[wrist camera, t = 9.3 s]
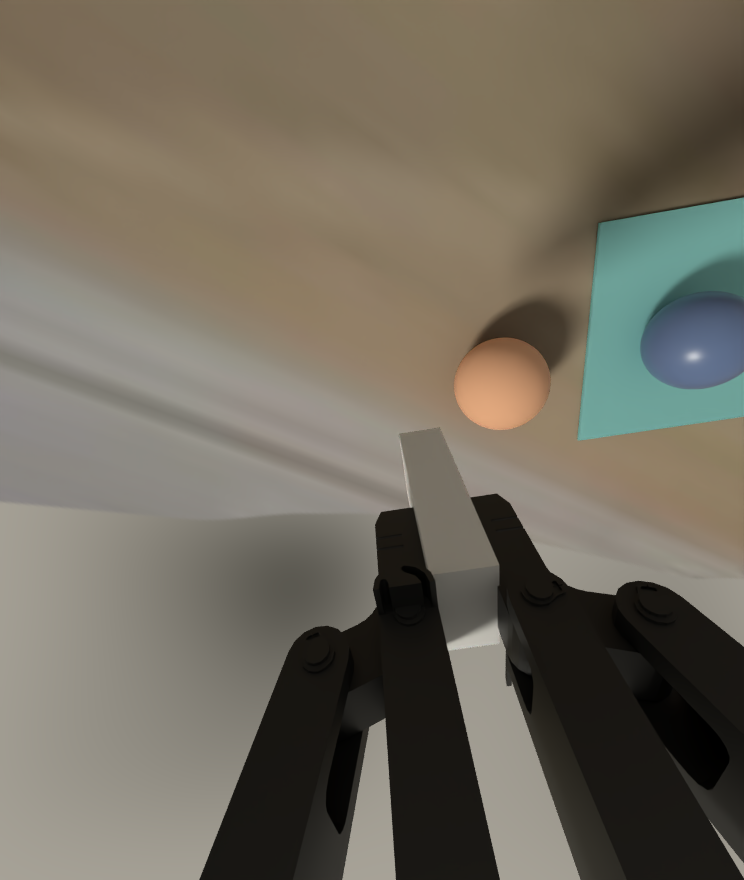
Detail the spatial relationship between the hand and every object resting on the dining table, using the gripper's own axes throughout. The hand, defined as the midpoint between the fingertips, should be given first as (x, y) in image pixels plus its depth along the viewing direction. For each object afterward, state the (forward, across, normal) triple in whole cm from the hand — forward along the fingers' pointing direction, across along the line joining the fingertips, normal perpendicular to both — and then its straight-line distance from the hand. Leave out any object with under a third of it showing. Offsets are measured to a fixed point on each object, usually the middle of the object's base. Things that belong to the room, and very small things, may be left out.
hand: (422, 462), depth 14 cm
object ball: (+9, +18, -1) cm, 20 cm away
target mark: (+12, +20, -1) cm, 23 cm away
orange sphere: (+10, +6, -1) cm, 11 cm away
